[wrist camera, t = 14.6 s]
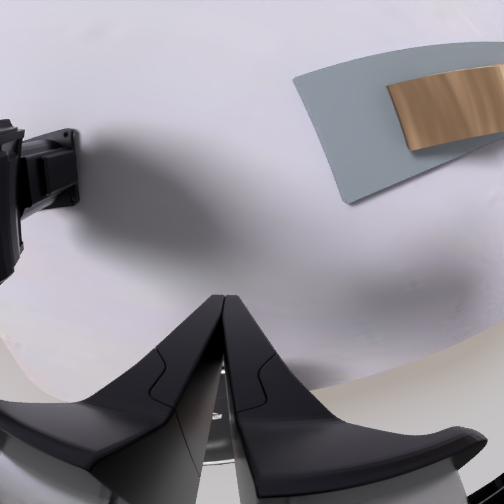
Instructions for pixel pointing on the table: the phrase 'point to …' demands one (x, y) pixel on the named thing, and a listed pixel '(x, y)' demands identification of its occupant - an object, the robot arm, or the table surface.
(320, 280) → the table surface
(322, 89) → the slate board
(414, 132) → the walnut domino
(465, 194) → the table surface
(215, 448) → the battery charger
